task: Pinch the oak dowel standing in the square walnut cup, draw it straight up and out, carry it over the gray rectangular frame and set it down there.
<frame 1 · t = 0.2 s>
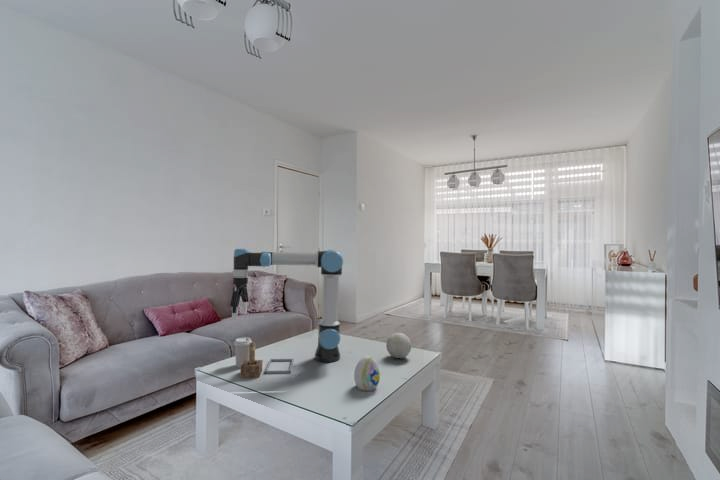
hand: (239, 316, 187), 28 cm above the table, fingers open, 13 cm apart
dowel: (251, 374, 176), point 1 cm above the table, touching cup block
decorative egg: (366, 387, 165), on the table
coffee cup: (242, 367, 187), on the table
decorative sphere: (398, 358, 209), on the table
gray rectangular frame: (279, 368, 187), on the table
cup block: (251, 375, 176), on the table
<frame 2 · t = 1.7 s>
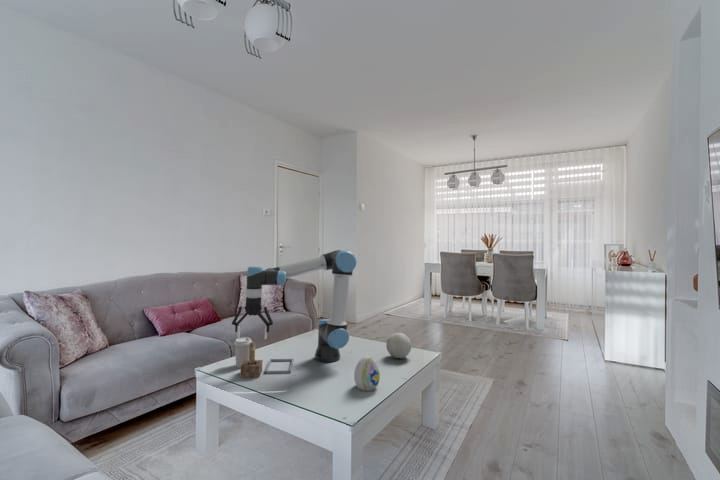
hand: (252, 338, 176), 19 cm above the table, fingers open, 13 cm apart
nothing on the table moved.
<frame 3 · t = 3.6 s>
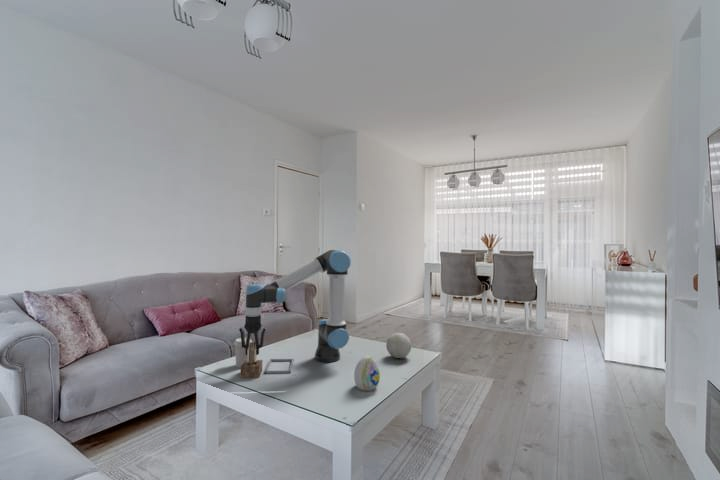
hand: (252, 361, 176), 8 cm above the table, fingers closed on dowel, 3 cm apart
dowel: (251, 374, 176), point 1 cm above the table, touching gripper
everything else where it was.
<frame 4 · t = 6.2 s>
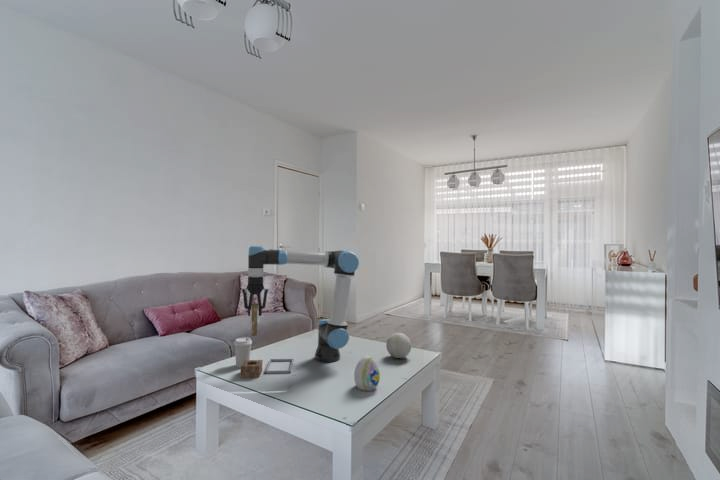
hand: (254, 322, 176), 27 cm above the table, fingers closed on dowel, 3 cm apart
dowel: (254, 335, 176), point 21 cm above the table, touching gripper
everything else where it was.
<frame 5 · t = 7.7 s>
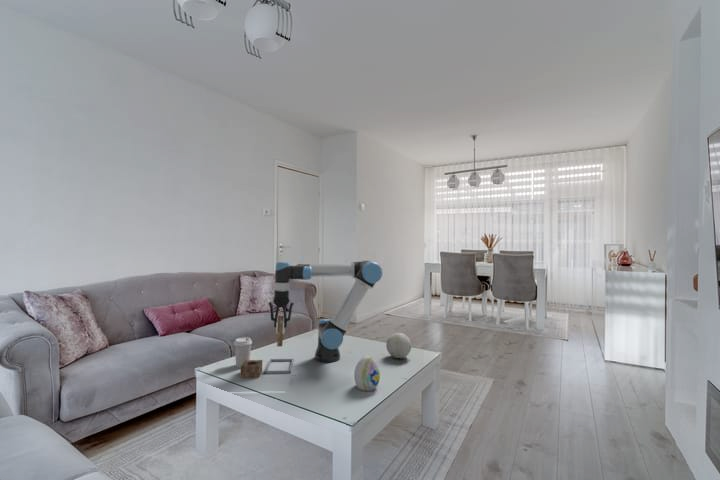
hand: (280, 333, 187), 19 cm above the table, fingers closed on dowel, 3 cm apart
dowel: (279, 345, 187), point 12 cm above the table, touching gripper
everything else where it was.
when the fingers open (9 cm above the table, at t = 9.1 s): dowel drops 2 cm, resting on gray rectangular frame.
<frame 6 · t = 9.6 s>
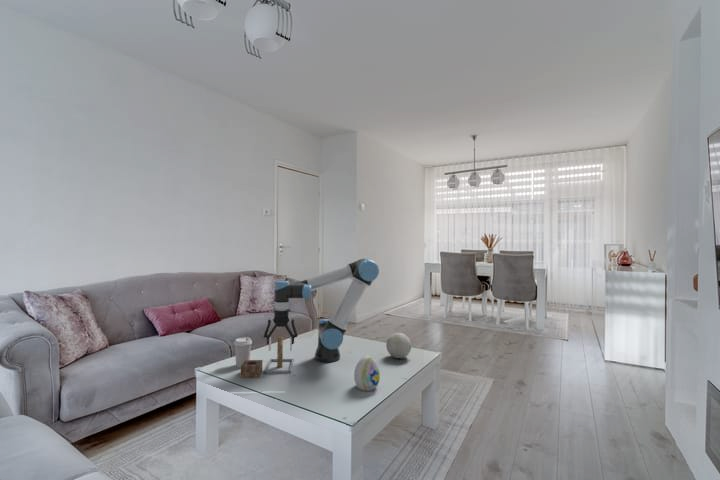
hand: (280, 350, 187), 10 cm above the table, fingers open, 10 cm apart
dowel: (279, 367, 187), point 1 cm above the table, touching gray rectangular frame
everything else where it was.
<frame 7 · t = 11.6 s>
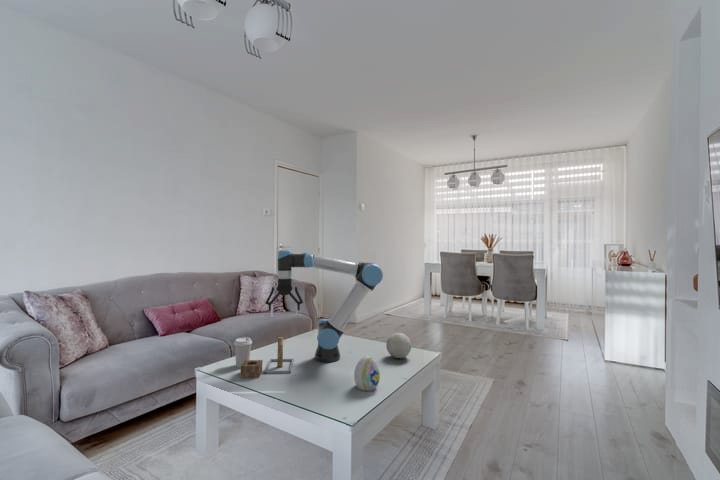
hand: (284, 316, 190), 27 cm above the table, fingers open, 13 cm apart
nothing on the table moved.
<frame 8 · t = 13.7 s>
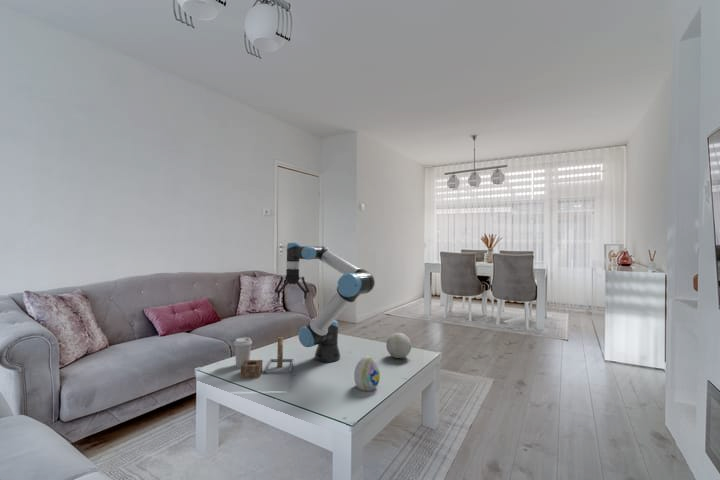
hand: (291, 304, 206), 32 cm above the table, fingers open, 13 cm apart
nothing on the table moved.
at the end: dowel inside the target area on the gray rectangular frame (0.1 cm from its centre), point 0.6 cm above the gray rectangular frame's base; the gripper is holding nothing; dowel moved 16.3 cm from its start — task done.
